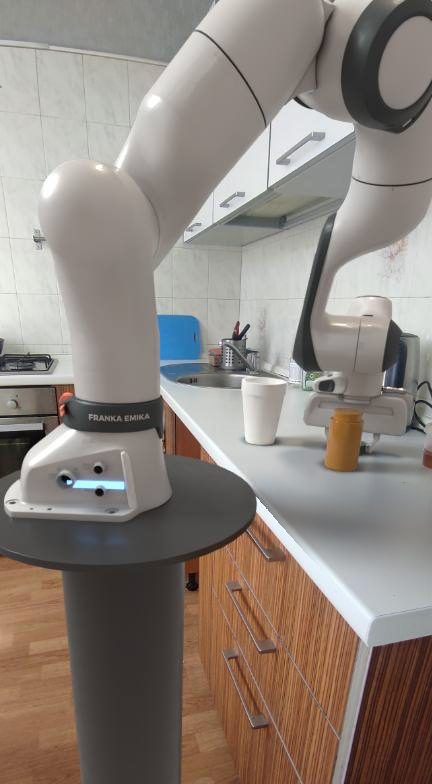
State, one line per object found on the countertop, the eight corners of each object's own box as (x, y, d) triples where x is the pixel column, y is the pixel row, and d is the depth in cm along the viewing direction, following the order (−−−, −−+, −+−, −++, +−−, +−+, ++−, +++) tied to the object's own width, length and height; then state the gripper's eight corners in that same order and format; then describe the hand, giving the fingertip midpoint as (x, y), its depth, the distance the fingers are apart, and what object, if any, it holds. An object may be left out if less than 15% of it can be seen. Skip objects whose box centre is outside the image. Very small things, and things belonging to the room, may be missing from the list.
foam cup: (232, 435, 104) (235, 377, 100) (270, 433, 107) (275, 376, 103) (248, 448, 96) (252, 385, 91) (288, 445, 99) (294, 384, 94)
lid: (365, 449, 99) (367, 440, 98) (364, 456, 93) (365, 447, 93) (336, 445, 101) (337, 437, 100) (333, 452, 95) (334, 443, 95)
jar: (331, 471, 85) (339, 414, 81) (319, 461, 90) (326, 407, 86) (362, 471, 86) (371, 414, 82) (348, 460, 91) (356, 407, 87)
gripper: (414, 386, 92) (402, 453, 97) (311, 377, 98) (304, 440, 103) (415, 391, 86) (402, 462, 91) (305, 381, 93) (298, 448, 98)
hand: (349, 450), depth 97 cm, fingers closed on lid, 6 cm apart
